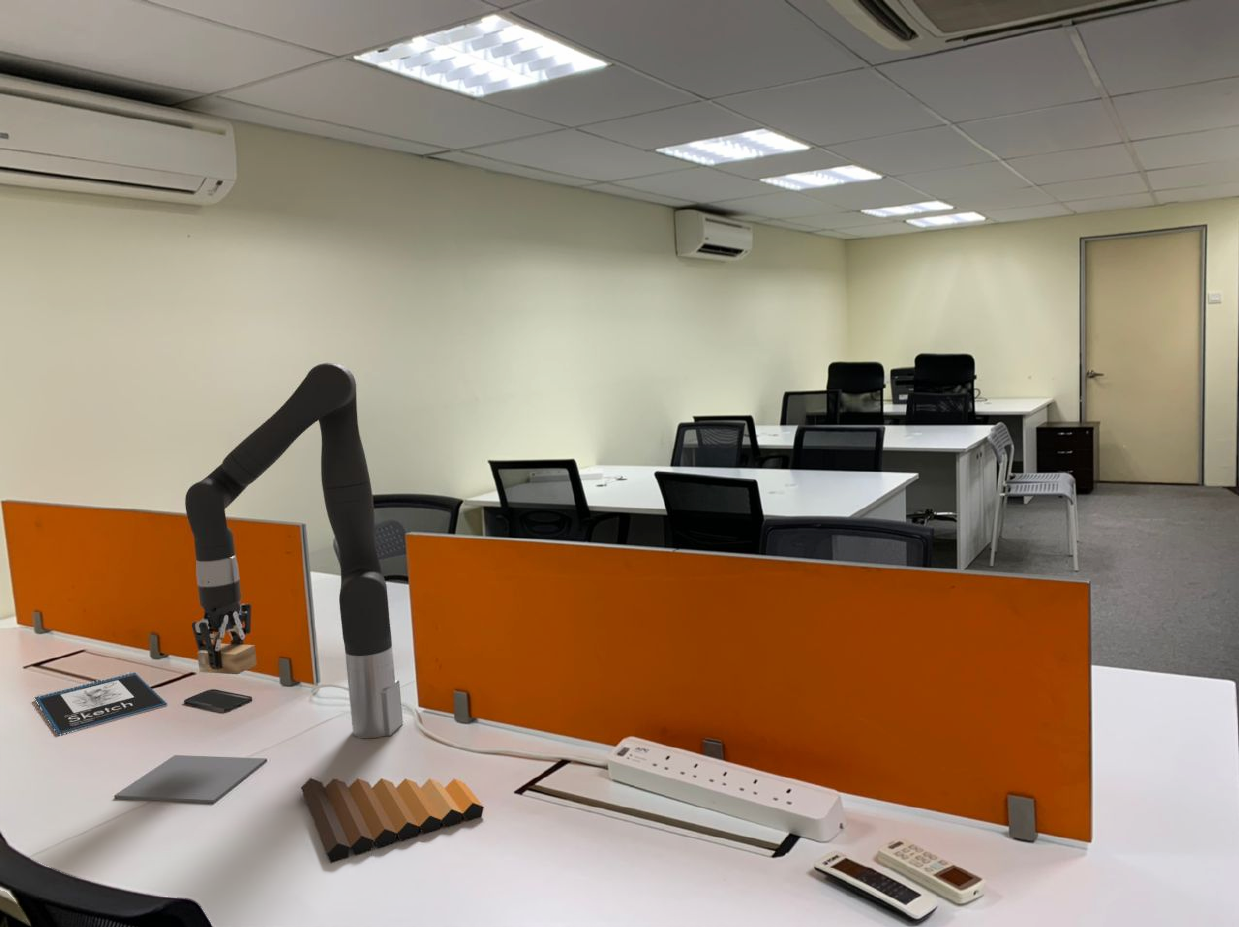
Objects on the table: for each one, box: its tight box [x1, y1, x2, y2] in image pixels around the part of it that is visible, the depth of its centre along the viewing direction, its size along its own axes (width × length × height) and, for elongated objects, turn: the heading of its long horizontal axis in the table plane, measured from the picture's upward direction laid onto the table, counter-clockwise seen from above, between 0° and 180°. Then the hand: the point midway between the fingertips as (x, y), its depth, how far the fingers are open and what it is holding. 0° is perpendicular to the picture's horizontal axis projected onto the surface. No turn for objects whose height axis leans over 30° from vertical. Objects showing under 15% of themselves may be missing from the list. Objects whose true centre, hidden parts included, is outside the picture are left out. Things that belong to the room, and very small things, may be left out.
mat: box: [113, 754, 268, 804], centre depth 164 cm, size 20×16×1 cm
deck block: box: [196, 643, 258, 675], centre depth 175 cm, size 9×6×4 cm, turn 73°
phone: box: [183, 688, 253, 713], centre depth 202 cm, size 8×1×15 cm
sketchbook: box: [34, 671, 168, 736], centre depth 206 cm, size 22×30×2 cm
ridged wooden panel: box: [300, 777, 485, 864], centre depth 150 cm, size 25×3×25 cm
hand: (227, 662), depth 175 cm, fingers closed on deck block, 5 cm apart
